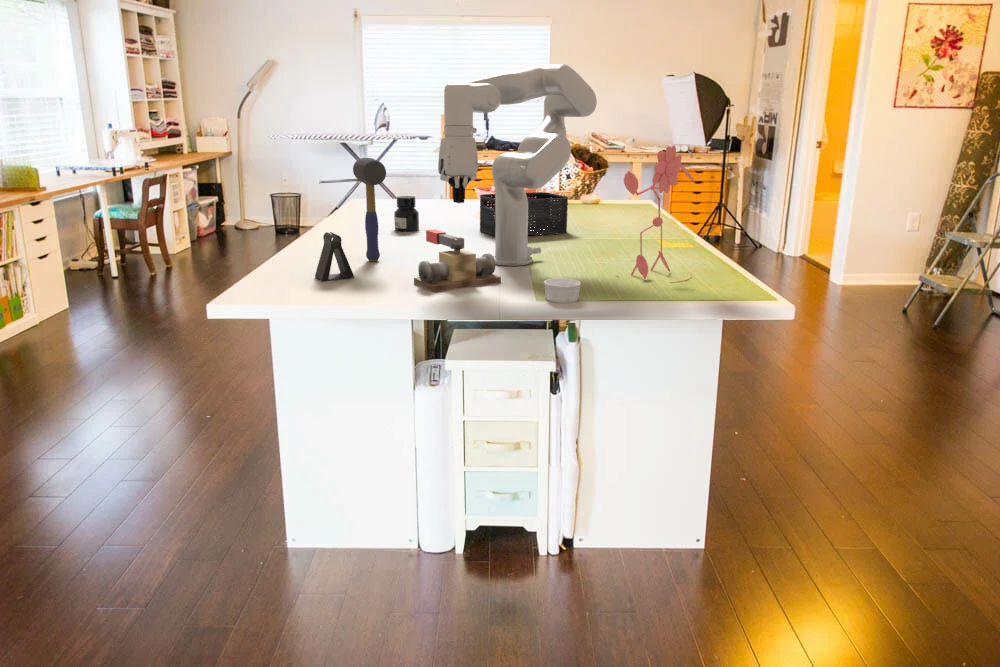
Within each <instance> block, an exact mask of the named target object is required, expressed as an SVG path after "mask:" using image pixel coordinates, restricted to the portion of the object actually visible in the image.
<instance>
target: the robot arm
mask: <svg viewBox="0 0 1000 667" xmlns="http://www.w3.org/2000/svg"><path fill="white" fill-rule="evenodd" d="M443 90H444V91H443V98H444V100H443V101H444V102H443V104H444V105H443V106H444V107H443V109H444V111H443V113H444V118H443V119H444V120H443V121H444V122H443V123H444V137H441V140H440V144H439V150H438V162H437V165H438V166H437V168H438V170H437V171H438V172H437V173H438V174H439V175H440V180H441V181H442V182H446V183H448V184H449V185H450V187H451V188H452V200H453V203H457V204H464V203H465V199H466V188H467V186H468V185H469V183H470V182H471V181H472V182H473V181H476V180H477V178H478V177H477V173H478V169H479V161H478V149H477V142H476V138H475V137H474V134H476V133H477V132H478V131H477V130H478V129H477V128H476V127H474V113H477V114H487V113H493V112H495V111H496V110H497V109H498V108H499V107H500V105H501V106H503V105H505V106H506V105H509V106H510V105H515V104H516V105H517V104H522V103H524V102H527V101H531V100H534V99H537V98H542V97H544V96H545V98H544V100H543V120H542V122H541V123H540V124H539V125H538V126H537V127H536V128H534V130H532V131H531V132H530V133H529V134H528V135H526V137H524V139H523V140H522V141H521V142H520V144H519V145H518V147H517V152H504V153H501V154H499V155H497V157H495V159H494V161H493V162H492V166H491V175H492V179H493V180H492V181H493V186H494V194H495V196H494V197H495V236H494V237H495V238H494V239H495V241H494V243H495V245H494V246H495V250H494V254H495V255H492V256H493V257H494V260H495V265H498V266H507V267H508V266H509V267H510V266H511V267H512V266H513V267H514V266H515V267H517V266H526V265H530V264H532V263H533V257H531V256H532V255H536V254H540V253H541V252H542V247H540V246H535V247H532V246H530V245H528V244H529V242H528V237H529V236H528V214H529V213H528V199H527V195H526V193H527V192H526V190H525V189H530V190H536V189H541V188H543V187H544V186H545V185H547V184H548V183H549V182H550V181H551V180H552V179H553V178H554V177H555V176H556V175H557V174H559V172H561V171H562V170H563V169H564V167H566V165H567V164H568V162H569V160H570V157H571V153H572V146H571V143H570V140H569V139H568V138H567V128H566V124H565V123H566V122H565V118H585V117H589V116H591V115H592V114H593V113H594V112H595V110H596V108H597V104H598V102H597V95H596V93H595V91H594V90H593V88H592V87H591V86H590V85H589V83H588V82H587V81H585V80H584V78H583V77H582V76H581V75H580V74H579V73H578V72H577V71H576V70H574V69H573V68H572V67H570V66H569V65H567V64H564V63H563V64H562V63H559V64H556V63H553V64H538V65H535V66H530V67H527V68H524V69H520V70H516V71H512V72H507V73H502V74H499V75H494V76H489V77H484V78H479V79H474V80H471V81H467V82H463V83H459V82H458V83H456V82H455V83H454V82H453V83H452V82H451V83H447V84H446V85H445V86H444V89H443Z"/></svg>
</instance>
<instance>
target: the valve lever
mask: <svg viewBox="0 0 1000 667" xmlns="http://www.w3.org/2000/svg"><path fill="white" fill-rule="evenodd" d="M425 235H426V236H425V239H426V240H425V241H426V242H428V243H431V244H433V245H441V246H446V247H449V248H450V249H452V250H454V249H460V250H465V238H463V237H458V236H454V235H451V234H447V233H446V232H445V231H442V230H438V229H426V230H425Z"/></svg>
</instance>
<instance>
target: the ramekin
mask: <svg viewBox="0 0 1000 667" xmlns="http://www.w3.org/2000/svg"><path fill="white" fill-rule="evenodd" d="M543 284H544V296H545V299H546V300H547V301H548V302H551V303H558V304H569V303H575V302H577V301H579V297H580V296H579V295H580V290H581V286H582V283H581V281H580V280H578V279H574V278H573V279H572V278H568V277H567V278H565V277H556V278H548V279H545V280H544V281H543Z"/></svg>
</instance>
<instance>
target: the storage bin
mask: <svg viewBox="0 0 1000 667" xmlns="http://www.w3.org/2000/svg"><path fill="white" fill-rule="evenodd" d="M526 195H527V199H528V235H538V236H541V235H540V234H553V235H557V234H556V233H561V234H566V233H565V232H567V230H568V229H567V228H568V199H569V196H565V195H562V194H561V195H560V194H556V193H552V192H551V193H550V192H545V191H544V192H543V191H542V192H541V191H540V192H539V191H536V192H526ZM479 196H480V200H479V203H480V206H479V231H480V232H482V233H485V234H488V235H491V236H494V237H495V193H489V194H488V193H487V194H480V195H479ZM547 226H548V227H547ZM530 227H531V228H530ZM534 227H535V228H534ZM540 229H541V230H540ZM543 229H545V230H543ZM530 230H532V231H530ZM533 230H534V231H533ZM537 232H538V233H537Z"/></svg>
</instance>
